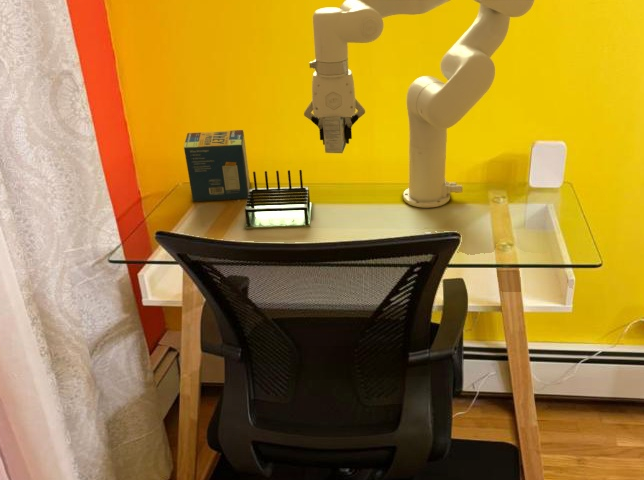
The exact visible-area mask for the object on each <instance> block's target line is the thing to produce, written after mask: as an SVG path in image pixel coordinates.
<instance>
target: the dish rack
mask: <svg viewBox="0 0 644 480" xmlns="http://www.w3.org/2000/svg"><path fill="white" fill-rule="evenodd" d="M298 172H299V183H300V186H292V178H291V176H292V175H291V170H290V169H288V170H287V178H288V186H287V187H281V184H280V183H281V182H280V172H279V170H276V171H275V173H276V175H275V176H276V185H277V187H269V179H268V171H267V170H265V171H264V178H265V179H264V181H265V187H262V188H261V187H260V188H259V187H258V183H257V175H256V171H255V170H254V171H252V175H253V183H254V184H253V185H254V188H249V193H248V198H247V199H246V202H245V206H244V215H245V226H244V229H245V230H256V229H257V230H258V229H289V228H309V227H311V216H312V202H311V197H310V187H309V186H304V184H303V183H304V182H303V171H302V169H299V170H298Z"/></svg>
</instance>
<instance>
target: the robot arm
mask: <svg viewBox="0 0 644 480" xmlns="http://www.w3.org/2000/svg"><path fill="white" fill-rule="evenodd" d="M450 1H451V0H344V2H342V4H341V5H340V7H332V6H331V7H322V8H319V9H316V10H315V11H314V13H313V15H312V26H313V39H314V40H313V43H314V58H315V59H314V60H313V61H310V62H309V69H313V70H314V72H313V74H312V83H311V94H312V95H311V102H310V103H309V105H308V106H307V107H306V109H305V110H304V111H303V112H304V113H303V116H304V117H305V118H306V119H308V120H309V121H311V122H312V123H313V124H314V125H315V126H316V127H317V128H318V130H319V141H322V145H323V146H325V144H324V131H323V119H324V118H326V117H345V120H346V125H345V128H346V145H349V144H350V140H352V139H353V135H352V128H353V126H354V124H355V123H356V122H357V121H358V120H359V119H360V118H361V117H363V115H365V114H366V109H365V107H364V106H363V105H362V104H361V103H360V102H359V101H358V99H356V91H355V84H354V82H355V81H354V76H353V73H352V70H351V69H349V51H348V47H349V46H348V44H349V43H352V44H353V43H354V44H368V43H372V42H374V41H376V40H377V39H379V38H380V36H382V32H383V30H384V20H383V19H384V18H388V17H392V16H397V15H398V16H399V15H410V16H415V15H423V14H426V13H429V12H430V11H432V10H434V9H436V8H438V7H440V6H442V5H444V4H446V3H448V2H450ZM473 2H476V3H478V4H479V9H478V13H477V16H476V18H475V19H474V21H473V23H471V25H470V26H469V28H467V30H466V31H465V32H464V33H463V34H462V35H461V36H460V37H459V38H458V39H457V41H456V42H454V44H453V45H452V46H451V47H450V48H449V49H448V50H447V51H446V52H445V54H444V55H443V56H442V58H441V61H440V71H441V72H440V73H441V74H442V75H443V77H444V78H445V79H447V81H446V82H445V83H444V82H443V81H441V80H440V79H439V78H437V77H434V76H431V75H423V76H420V77H418V78H416V79H414V81H412V82H411V84H410V85H409V87H408V90H407V93H406V110H407V116H408V128H409V129H408V131H409V134H408V135H409V136H408V139H409V140H408V141H409V143H408V188H406V189H405V190H404V191H403V193H402V199H403V201H404V202H405V203H406V204H407V205H409V206H412V207H415V208H416V207H417V208H423V209H424V208H426V209H429V208H437V207H438V208H439V207H441V206H443V205H445V204H447V203H448V202H449V201H450V200H451V193H455V194H456V193H459V194H460V193H463V185H462V184H457V182H454V181H453V182H448V181H447V180H446V164H447V163H446V162H447V161H446V160H447V143H448V142H447V141H448V140H447V139H448V138H447V137H448V131H447V129H450V128H452V127H454V126H455V125H457V124H458V123H459V122H460V121H461V120H462V119H463V118H464V117H465V116H466V115H467V114H468V113H469V112H470V111H471V110H472V109H473V108H474V107H475V105H477V103H479V101H480V100H481V99H482V98H483V97H484V95H486V93H488V92H489V90H490V88H491V86H492V85H493V82H494V80H495V76H496V66H495V63H494V60H492V58H491V57H492V56H493V55H494V53H496V52H497V50H498V49H499V48H500V47H501V45H502V44H503V43H504V41H505V39H506V37H507V34H508V32H509V27H510V22H511V21H510V20H511V18H521V17H522V16H524V15H526V14H527V13H528V12H529V11H531V9H532V7H533V6H534V3H535V0H473ZM356 110H357V111H356Z"/></svg>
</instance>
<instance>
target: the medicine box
mask: <svg viewBox="0 0 644 480" xmlns="http://www.w3.org/2000/svg"><path fill="white" fill-rule="evenodd" d="M345 125H346V120H345V117H326V118H324V119H323V131H324V144H325V145H324V153H326V154H343V152H344V150H345V148H346V145H347V143H346V128H345Z"/></svg>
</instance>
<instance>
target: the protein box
mask: <svg viewBox="0 0 644 480" xmlns="http://www.w3.org/2000/svg"><path fill="white" fill-rule="evenodd" d="M246 148H247V147H246V141H245V134H244V129H235V130H219V131H202V132H188V133H186V137H185V141H184V145H183V150H184V156H185V162H186V168H187V172H188V173H187V175H188V180H189V186H190V187H189V188H190V193H191V199H192V202H193V203H194V202H208V201H210V202H212V201H229V200H247V198H248V193H249V189H250V187H251V179H250V171H249V164H248V158H247V149H246Z"/></svg>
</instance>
